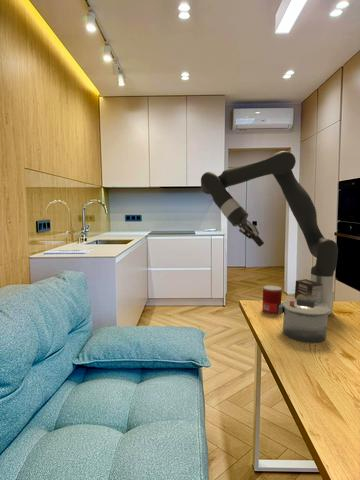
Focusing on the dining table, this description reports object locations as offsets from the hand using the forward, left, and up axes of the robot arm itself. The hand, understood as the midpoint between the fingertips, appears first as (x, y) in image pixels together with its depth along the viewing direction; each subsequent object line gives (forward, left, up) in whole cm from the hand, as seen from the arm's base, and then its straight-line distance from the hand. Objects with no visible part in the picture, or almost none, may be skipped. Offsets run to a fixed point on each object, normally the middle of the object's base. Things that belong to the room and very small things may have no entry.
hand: (262, 245), depth 127 cm
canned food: (-15, -12, -32) cm, 37 cm away
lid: (-10, +14, -22) cm, 28 cm away
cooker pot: (-10, +14, -32) cm, 36 cm away
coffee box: (-23, +1, -32) cm, 40 cm away
